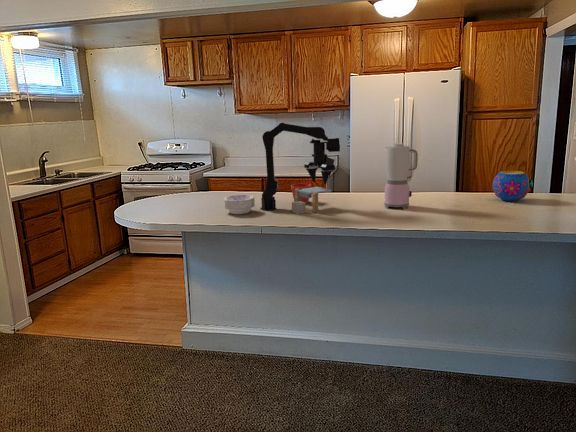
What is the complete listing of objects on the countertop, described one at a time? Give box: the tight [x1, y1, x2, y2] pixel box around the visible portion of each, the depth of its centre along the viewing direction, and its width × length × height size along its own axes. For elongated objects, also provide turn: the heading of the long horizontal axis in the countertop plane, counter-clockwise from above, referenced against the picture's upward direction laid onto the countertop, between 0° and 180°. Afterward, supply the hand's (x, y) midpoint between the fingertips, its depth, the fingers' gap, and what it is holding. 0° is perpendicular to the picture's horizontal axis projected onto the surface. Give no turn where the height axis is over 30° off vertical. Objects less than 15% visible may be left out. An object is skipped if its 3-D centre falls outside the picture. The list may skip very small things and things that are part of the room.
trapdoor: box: [298, 186, 333, 199], centre depth 224 cm, size 13×12×3 cm
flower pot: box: [290, 183, 312, 204], centre depth 242 cm, size 11×11×10 cm
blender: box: [383, 142, 419, 210], centre depth 221 cm, size 16×12×32 cm
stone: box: [291, 201, 307, 215], centre depth 219 cm, size 5×5×5 cm
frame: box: [295, 188, 319, 214], centre depth 223 cm, size 2×17×10 cm, turn 34°
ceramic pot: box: [492, 170, 534, 202], centre depth 231 cm, size 18×18×15 cm
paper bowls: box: [223, 194, 256, 215], centre depth 222 cm, size 15×15×8 cm
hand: (319, 183), depth 225 cm, fingers open, 9 cm apart
